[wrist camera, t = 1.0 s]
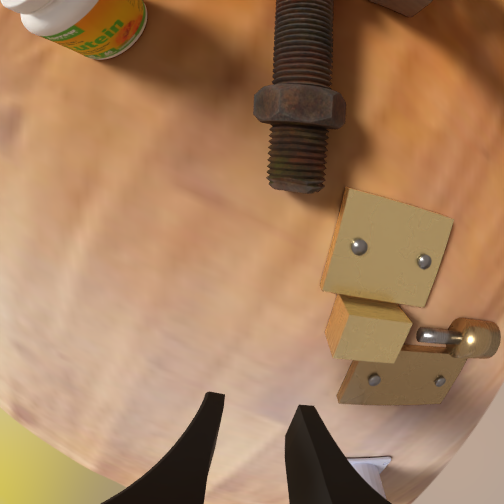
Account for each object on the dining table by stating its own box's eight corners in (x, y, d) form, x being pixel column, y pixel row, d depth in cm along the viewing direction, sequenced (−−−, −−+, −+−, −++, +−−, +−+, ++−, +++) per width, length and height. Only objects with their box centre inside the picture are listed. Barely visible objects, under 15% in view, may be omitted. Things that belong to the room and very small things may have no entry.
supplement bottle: (88, 75, 16) (-10, 44, 7) (74, 20, 15) (-10, -23, 6) (158, 36, 16) (87, -32, 6) (139, -17, 14) (76, -88, 5)
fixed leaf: (442, 396, 24) (454, 417, 21) (336, 395, 24) (343, 422, 21) (486, 315, 21) (505, 333, 18) (377, 298, 21) (393, 321, 18)
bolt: (277, 179, 20) (288, -20, 15) (352, 191, 18) (358, -26, 13) (225, 188, 16) (242, -59, 11) (321, 203, 13) (328, -75, 8)
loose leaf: (401, 341, 22) (416, 364, 19) (305, 329, 22) (312, 355, 19) (447, 216, 19) (471, 227, 16) (345, 186, 18) (361, 193, 15)
